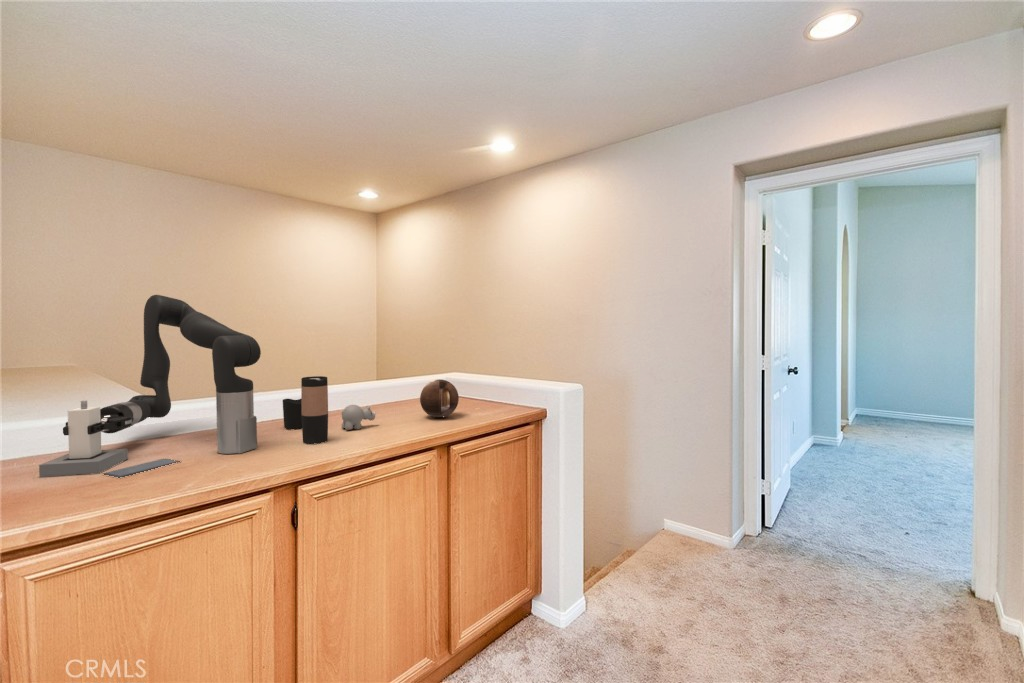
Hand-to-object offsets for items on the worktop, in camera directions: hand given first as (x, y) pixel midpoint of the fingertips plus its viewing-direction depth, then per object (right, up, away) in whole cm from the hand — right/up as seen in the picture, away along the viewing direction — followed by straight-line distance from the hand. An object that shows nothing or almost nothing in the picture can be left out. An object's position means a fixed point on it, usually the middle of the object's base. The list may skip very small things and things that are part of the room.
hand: (77, 430), depth 113 cm
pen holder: (+31, -9, +50) cm, 59 cm away
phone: (+14, -11, +3) cm, 18 cm away
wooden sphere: (+79, -8, +67) cm, 104 cm away
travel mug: (+46, -9, +30) cm, 56 cm away
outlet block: (-1, -10, +3) cm, 10 cm away
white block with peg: (-1, -7, +3) cm, 8 cm away
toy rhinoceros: (+54, -9, +48) cm, 73 cm away
